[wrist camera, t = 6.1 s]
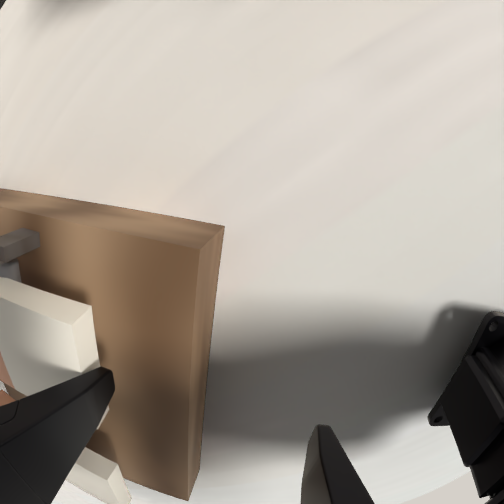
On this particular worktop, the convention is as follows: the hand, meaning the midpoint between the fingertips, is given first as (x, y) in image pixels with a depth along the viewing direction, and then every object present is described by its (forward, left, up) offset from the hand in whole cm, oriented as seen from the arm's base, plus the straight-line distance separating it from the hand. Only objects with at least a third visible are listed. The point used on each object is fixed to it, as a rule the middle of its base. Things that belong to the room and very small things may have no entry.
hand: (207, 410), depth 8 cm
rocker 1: (+9, 0, 0) cm, 9 cm away
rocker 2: (+9, +9, 0) cm, 12 cm away
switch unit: (+9, +5, -5) cm, 11 cm away
